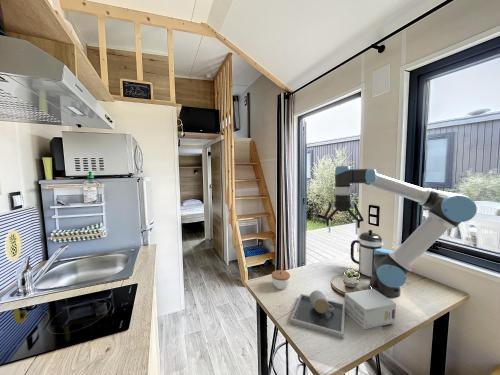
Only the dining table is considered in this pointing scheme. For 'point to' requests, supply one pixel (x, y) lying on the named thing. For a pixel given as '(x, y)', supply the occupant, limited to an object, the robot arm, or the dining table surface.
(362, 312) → the supplement box
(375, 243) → the coffee press
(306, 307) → the square tray
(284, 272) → the lidded jar
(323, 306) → the ceramic mug
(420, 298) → the dining table surface
